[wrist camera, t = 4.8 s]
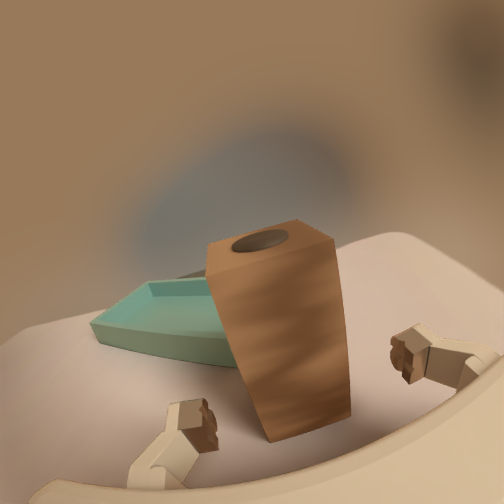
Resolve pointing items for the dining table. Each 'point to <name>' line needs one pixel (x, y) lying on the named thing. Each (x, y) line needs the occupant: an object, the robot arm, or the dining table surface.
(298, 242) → the block
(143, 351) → the tray
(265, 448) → the dining table surface
